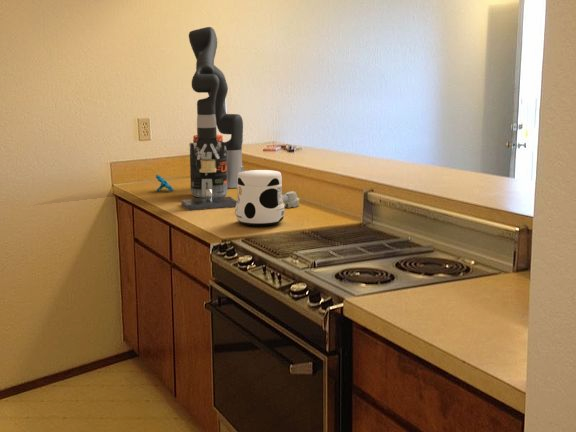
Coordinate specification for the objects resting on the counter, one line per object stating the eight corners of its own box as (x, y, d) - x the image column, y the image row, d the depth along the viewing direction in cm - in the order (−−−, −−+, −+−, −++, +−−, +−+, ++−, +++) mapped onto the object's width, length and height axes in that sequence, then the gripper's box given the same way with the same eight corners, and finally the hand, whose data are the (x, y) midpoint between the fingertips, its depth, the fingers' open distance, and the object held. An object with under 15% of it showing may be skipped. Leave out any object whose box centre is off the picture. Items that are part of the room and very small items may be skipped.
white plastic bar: (238, 201, 270) (293, 187, 282) (240, 218, 272) (295, 203, 284) (244, 204, 266) (300, 189, 277) (246, 221, 268) (302, 205, 279)
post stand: (229, 201, 291) (229, 185, 290) (237, 206, 280) (237, 190, 279) (181, 204, 284) (180, 188, 283) (187, 210, 273) (187, 193, 272)
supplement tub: (217, 199, 294) (215, 137, 289) (184, 197, 300) (182, 136, 295) (233, 193, 309) (232, 134, 303) (202, 191, 315) (200, 133, 309)
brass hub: (213, 169, 283) (213, 158, 282) (217, 172, 277) (217, 160, 277) (198, 170, 281) (197, 159, 280) (201, 173, 275) (201, 161, 274)
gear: (171, 189, 309) (155, 173, 309) (162, 199, 310) (146, 183, 310) (176, 189, 320) (161, 173, 320) (167, 198, 321) (151, 182, 321)
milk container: (229, 220, 255) (227, 171, 251) (273, 216, 262) (273, 168, 258) (245, 230, 239) (244, 178, 236) (292, 226, 246) (292, 174, 242)
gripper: (222, 124, 282) (222, 166, 285) (186, 126, 277) (187, 168, 280) (227, 126, 275) (227, 169, 278) (190, 127, 270) (191, 170, 273)
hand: (207, 168), depth 279 cm, fingers closed on brass hub, 6 cm apart
